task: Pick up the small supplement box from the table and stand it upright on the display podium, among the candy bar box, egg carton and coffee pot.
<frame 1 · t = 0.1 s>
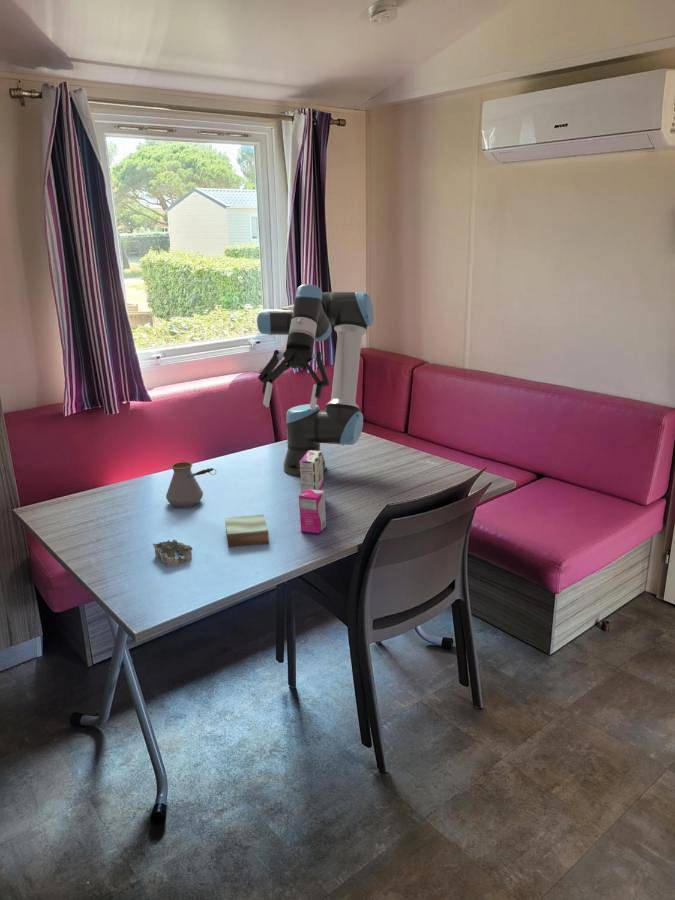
hand: (288, 407, 182), 36 cm above the table, tool tilted 35°, fingers open, 13 cm apart
supplement box: (313, 530, 191), on the table
egg carton: (173, 559, 176), on the table
display podium: (246, 537, 187), on the table
coffee pot: (195, 507, 209), on the table
candy bar box: (312, 506, 208), on the table
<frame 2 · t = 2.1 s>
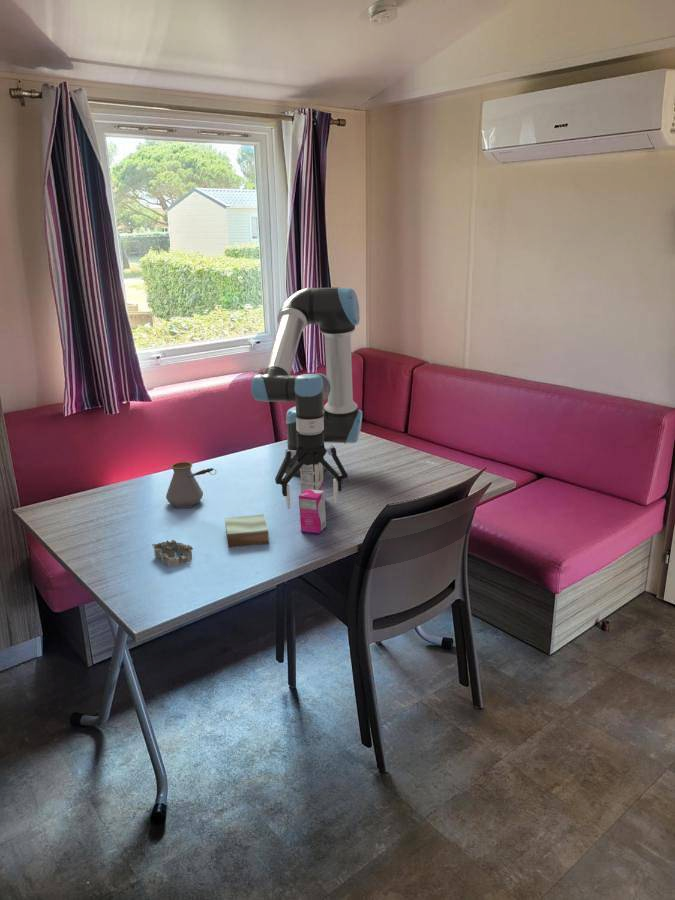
hand: (312, 504, 188), 8 cm above the table, tool pointing down, fingers open, 13 cm apart
nothing on the table moved.
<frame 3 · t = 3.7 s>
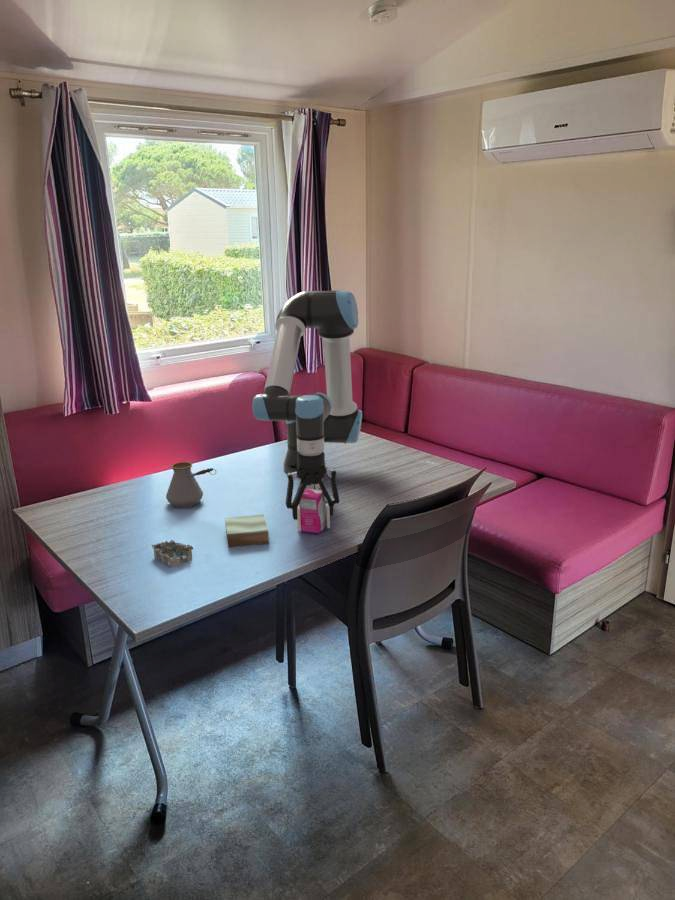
hand: (313, 527, 190), 1 cm above the table, tool pointing down, fingers closed on supplement box, 8 cm apart
supplement box: (313, 530, 191), on the table, touching gripper
everything else where it was.
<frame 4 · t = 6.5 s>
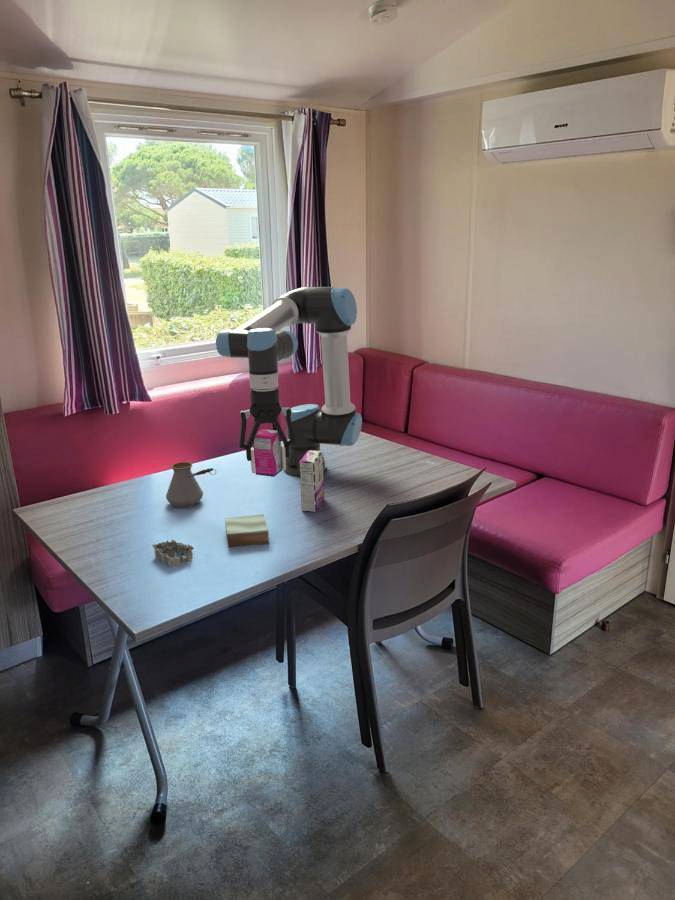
hand: (268, 470, 182), 19 cm above the table, tool pointing down, fingers closed on supplement box, 8 cm apart
supplement box: (268, 473, 182), point 18 cm above the table, touching gripper
everything else where it was.
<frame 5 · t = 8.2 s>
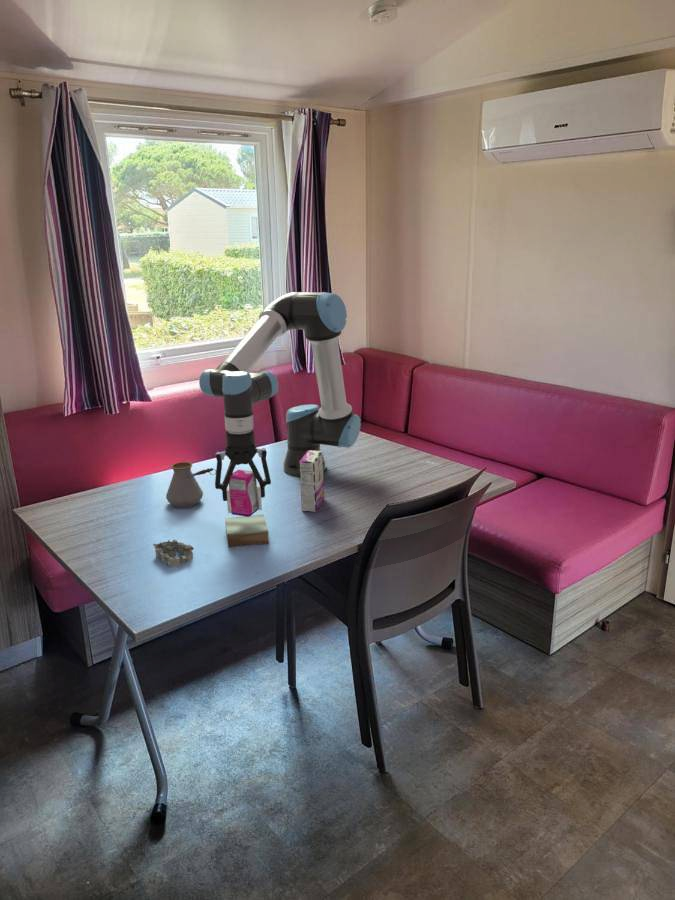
hand: (244, 509, 184), 8 cm above the table, tool pointing down, fingers closed on supplement box, 8 cm apart
supplement box: (244, 512, 184), point 7 cm above the table, touching gripper
everything else where it was.
when the fingers open (6 cm above the table, at t = 9.3 s): supplement box drops 1 cm, resting on display podium.
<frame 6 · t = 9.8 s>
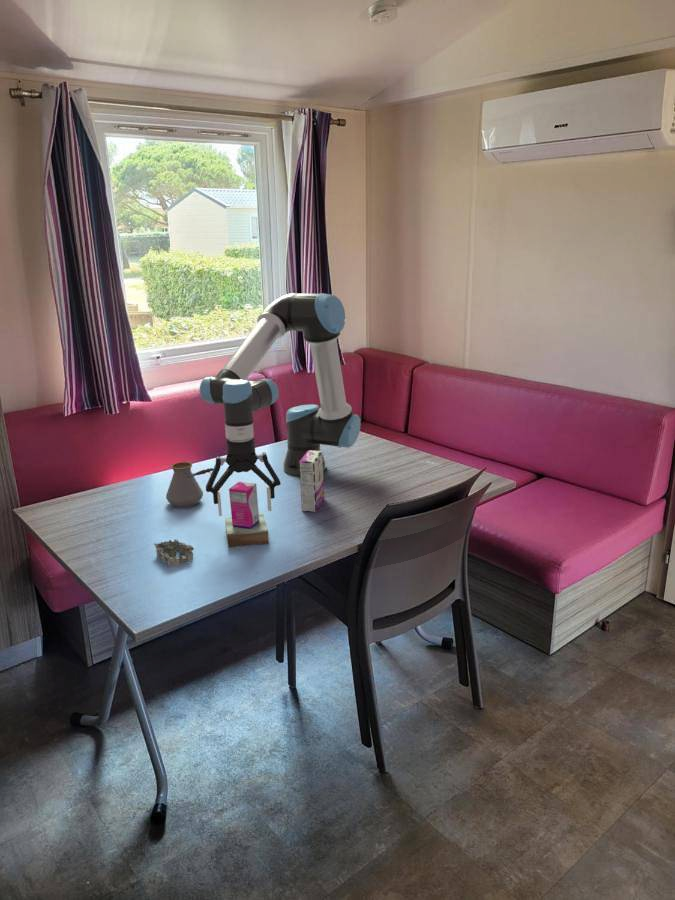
hand: (245, 511, 185), 8 cm above the table, tool pointing down, fingers open, 13 cm apart
supplement box: (245, 524, 186), point 4 cm above the table, touching display podium
everything else where it was.
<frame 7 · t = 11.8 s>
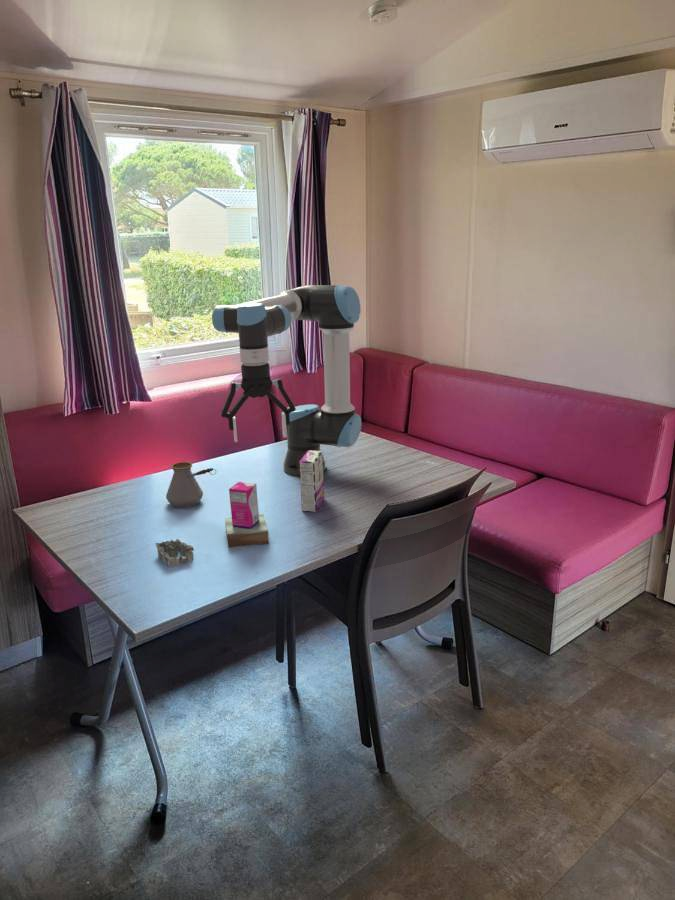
hand: (260, 438, 185), 27 cm above the table, tool pointing down, fingers open, 13 cm apart
nothing on the table moved.
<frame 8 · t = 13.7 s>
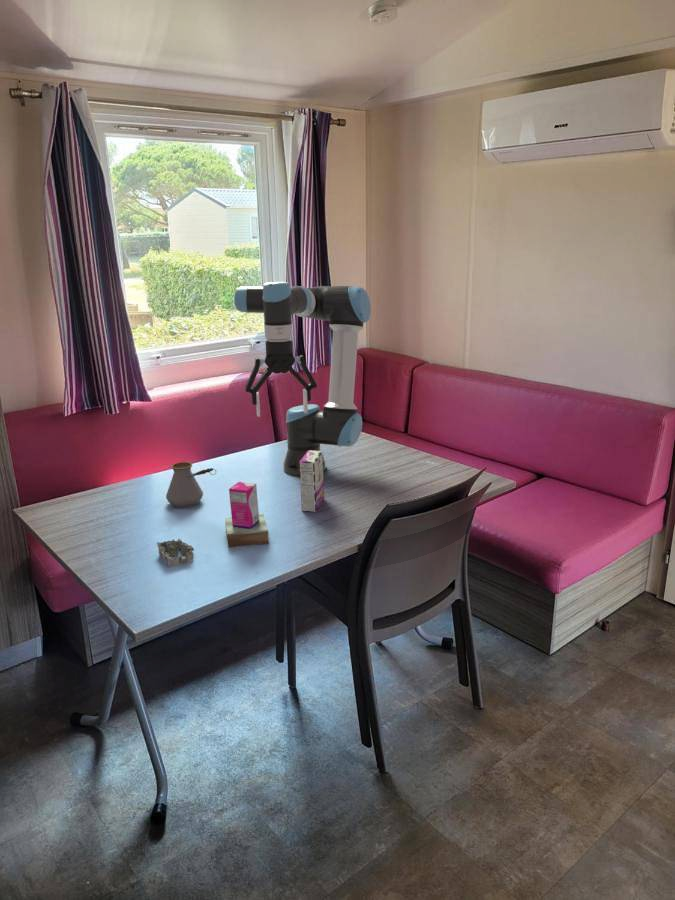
hand: (282, 414, 191), 32 cm above the table, tool pointing down, fingers open, 13 cm apart
nothing on the table moved.
at the end: supplement box 0.1 cm off-centre on the display podium, point 3.8 cm above the display podium's base; supplement box tilted 0°; supplement box touching display podium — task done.
